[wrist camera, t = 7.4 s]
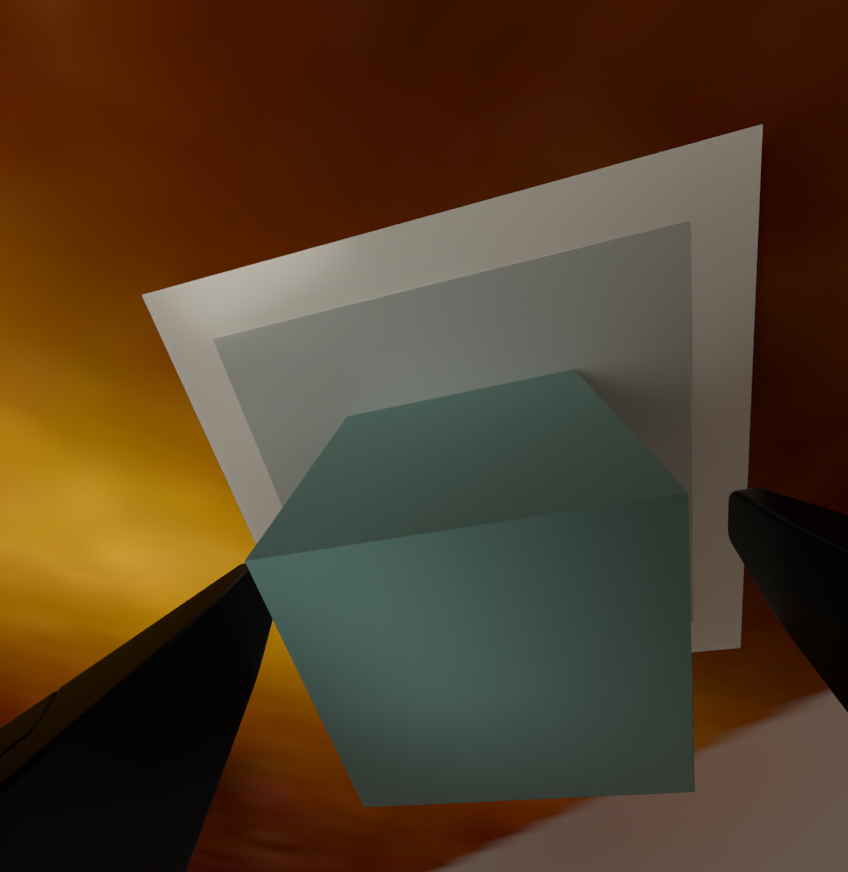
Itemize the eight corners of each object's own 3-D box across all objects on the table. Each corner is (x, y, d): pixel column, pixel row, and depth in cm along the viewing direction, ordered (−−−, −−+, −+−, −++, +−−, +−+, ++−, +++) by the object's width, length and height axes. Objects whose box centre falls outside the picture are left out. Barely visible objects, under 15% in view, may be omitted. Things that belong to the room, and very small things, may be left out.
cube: (574, 369, 9) (688, 493, 4) (597, 562, 11) (694, 791, 6) (346, 416, 10) (245, 561, 5) (403, 588, 12) (364, 806, 7)
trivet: (735, 136, 8) (766, 122, 7) (723, 623, 12) (742, 651, 12) (165, 291, 10) (138, 295, 9) (328, 664, 14) (320, 689, 14)
